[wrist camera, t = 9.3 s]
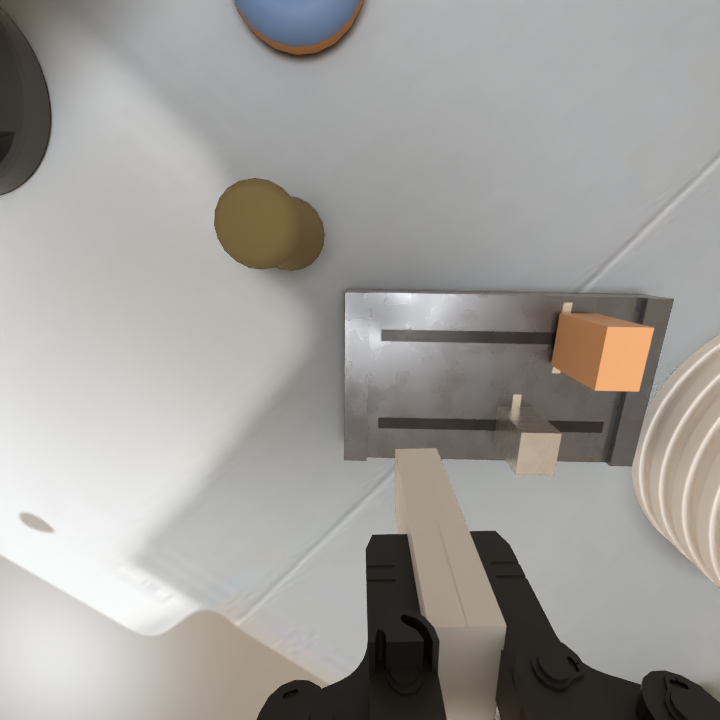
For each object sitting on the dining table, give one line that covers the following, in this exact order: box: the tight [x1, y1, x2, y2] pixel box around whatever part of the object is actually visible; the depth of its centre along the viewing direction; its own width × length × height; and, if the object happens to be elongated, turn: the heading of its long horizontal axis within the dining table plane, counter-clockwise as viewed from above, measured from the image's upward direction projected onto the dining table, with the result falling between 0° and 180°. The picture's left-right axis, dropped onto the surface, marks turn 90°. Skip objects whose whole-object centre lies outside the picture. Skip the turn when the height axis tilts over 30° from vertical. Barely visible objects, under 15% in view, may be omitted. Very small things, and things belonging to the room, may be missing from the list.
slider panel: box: [344, 289, 674, 476], centre depth 31 cm, size 15×26×8 cm, turn 89°
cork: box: [214, 178, 325, 271], centre depth 26 cm, size 6×6×11 cm
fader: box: [551, 313, 654, 392], centre depth 27 cm, size 4×3×6 cm
